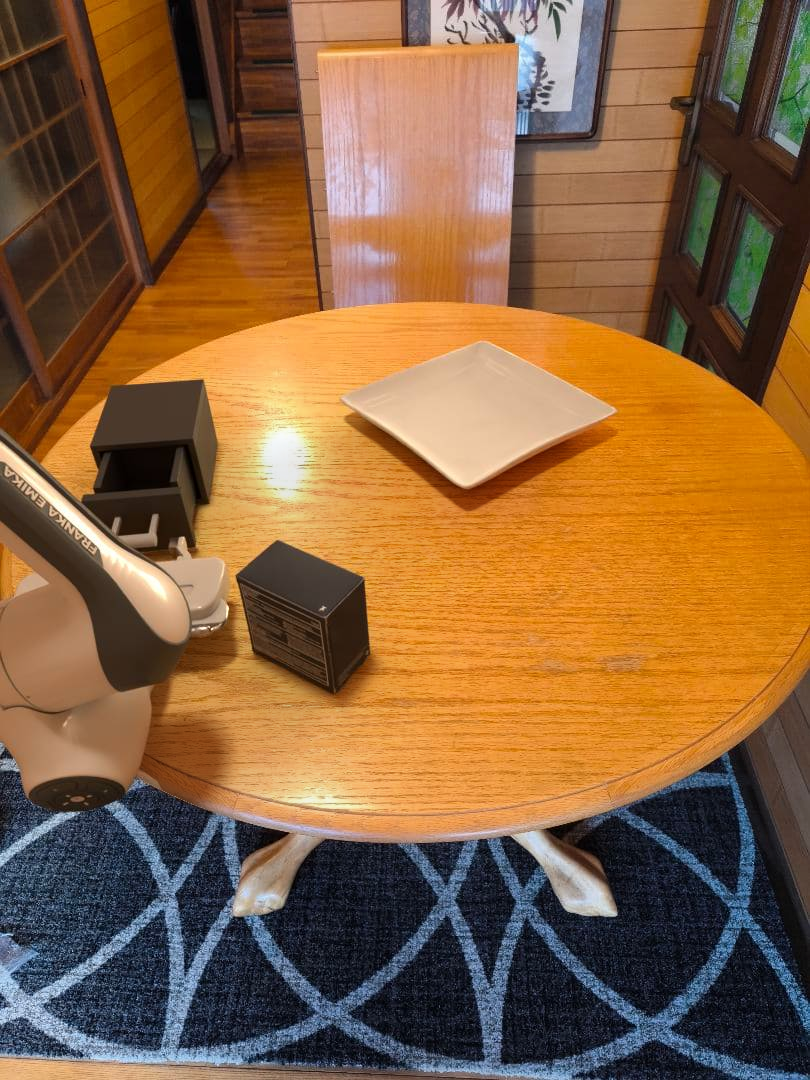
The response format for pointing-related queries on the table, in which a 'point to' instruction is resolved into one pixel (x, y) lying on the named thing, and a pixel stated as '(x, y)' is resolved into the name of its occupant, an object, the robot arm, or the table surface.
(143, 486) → the drawer
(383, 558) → the table surface
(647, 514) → the table surface
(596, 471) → the table surface
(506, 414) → the square plate
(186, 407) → the cabinet
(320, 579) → the small box
